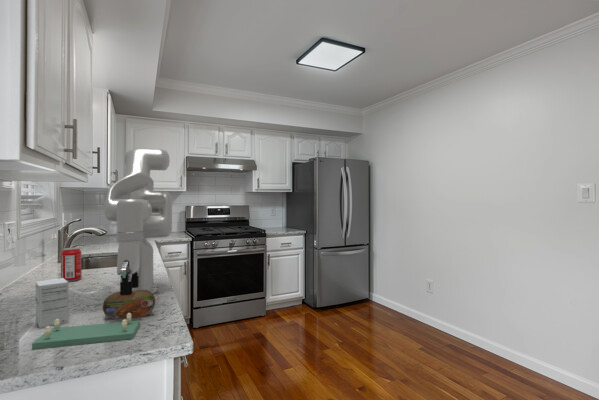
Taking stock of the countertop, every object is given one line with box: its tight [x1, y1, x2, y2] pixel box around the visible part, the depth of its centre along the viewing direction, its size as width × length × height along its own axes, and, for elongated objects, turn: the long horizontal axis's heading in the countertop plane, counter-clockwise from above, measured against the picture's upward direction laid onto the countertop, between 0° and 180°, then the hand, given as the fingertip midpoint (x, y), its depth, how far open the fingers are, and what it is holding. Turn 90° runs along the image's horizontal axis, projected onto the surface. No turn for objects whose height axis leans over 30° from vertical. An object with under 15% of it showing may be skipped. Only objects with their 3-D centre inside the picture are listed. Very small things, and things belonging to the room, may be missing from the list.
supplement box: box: [35, 277, 69, 329], centre depth 101 cm, size 7×7×13 cm
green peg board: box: [31, 313, 141, 350], centre depth 90 cm, size 10×23×5 cm, turn 106°
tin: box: [102, 290, 156, 320], centre depth 106 cm, size 15×3×8 cm, turn 105°
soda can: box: [60, 247, 82, 283], centre depth 153 cm, size 8×8×15 cm
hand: (129, 291), depth 105 cm, fingers open, 9 cm apart
